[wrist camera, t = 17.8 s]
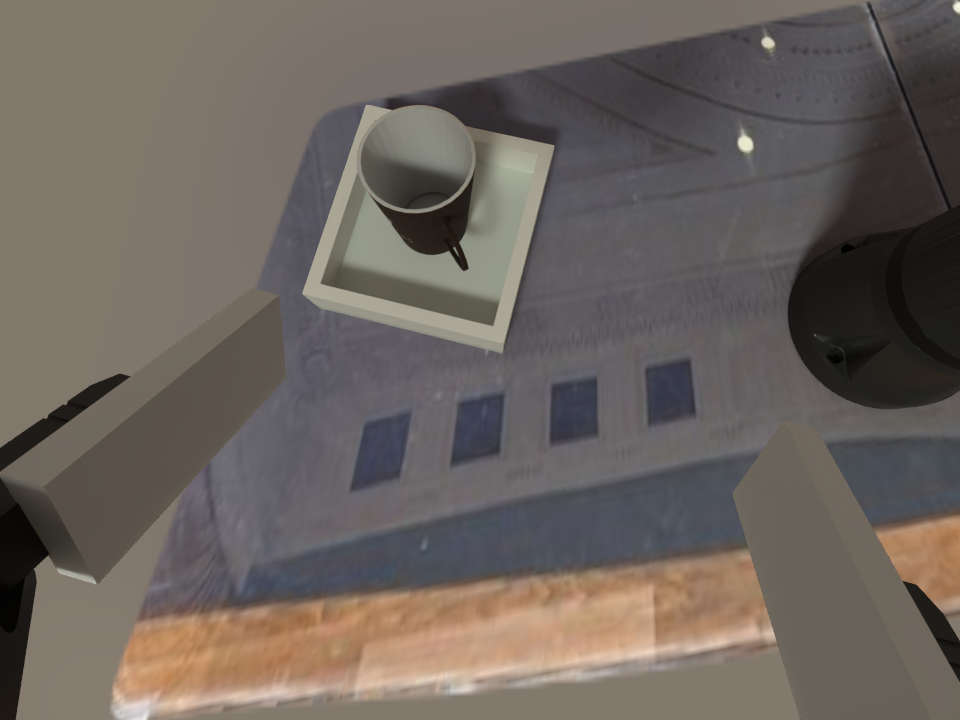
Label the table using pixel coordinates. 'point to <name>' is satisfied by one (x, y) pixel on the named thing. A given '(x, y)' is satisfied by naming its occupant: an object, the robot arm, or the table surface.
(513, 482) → the table surface
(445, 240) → the coffee mug
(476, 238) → the white storage tray
